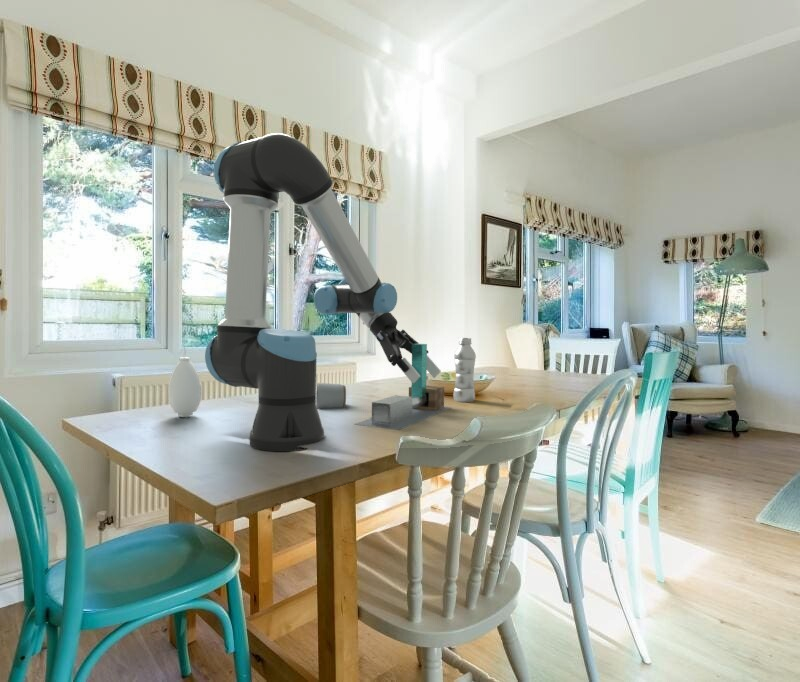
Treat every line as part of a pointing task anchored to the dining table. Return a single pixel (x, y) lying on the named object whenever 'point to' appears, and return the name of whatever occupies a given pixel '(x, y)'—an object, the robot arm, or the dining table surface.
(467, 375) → the plastic bottle
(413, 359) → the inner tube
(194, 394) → the white vase
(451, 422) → the dining table surface
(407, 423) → the base board
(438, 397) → the socket block
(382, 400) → the sleeve
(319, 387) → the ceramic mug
